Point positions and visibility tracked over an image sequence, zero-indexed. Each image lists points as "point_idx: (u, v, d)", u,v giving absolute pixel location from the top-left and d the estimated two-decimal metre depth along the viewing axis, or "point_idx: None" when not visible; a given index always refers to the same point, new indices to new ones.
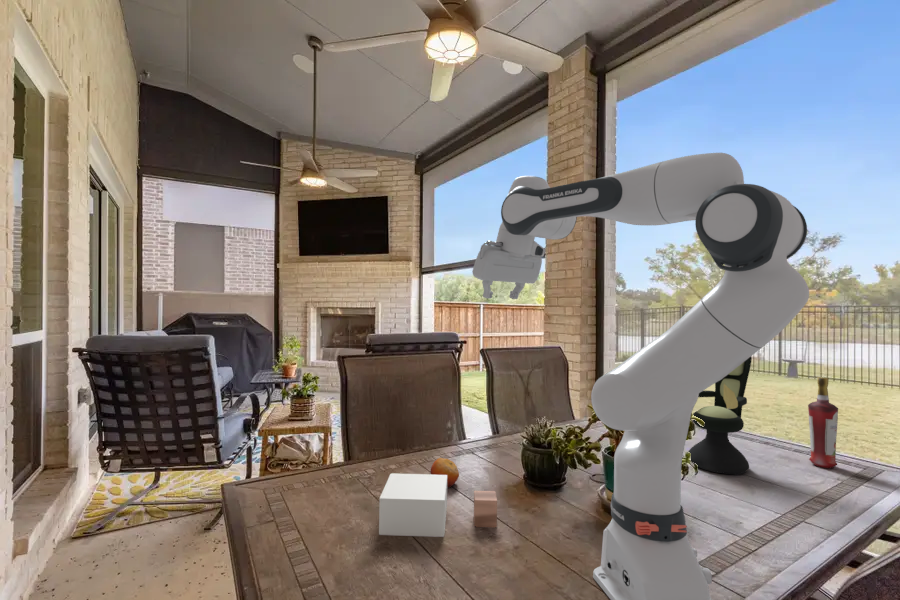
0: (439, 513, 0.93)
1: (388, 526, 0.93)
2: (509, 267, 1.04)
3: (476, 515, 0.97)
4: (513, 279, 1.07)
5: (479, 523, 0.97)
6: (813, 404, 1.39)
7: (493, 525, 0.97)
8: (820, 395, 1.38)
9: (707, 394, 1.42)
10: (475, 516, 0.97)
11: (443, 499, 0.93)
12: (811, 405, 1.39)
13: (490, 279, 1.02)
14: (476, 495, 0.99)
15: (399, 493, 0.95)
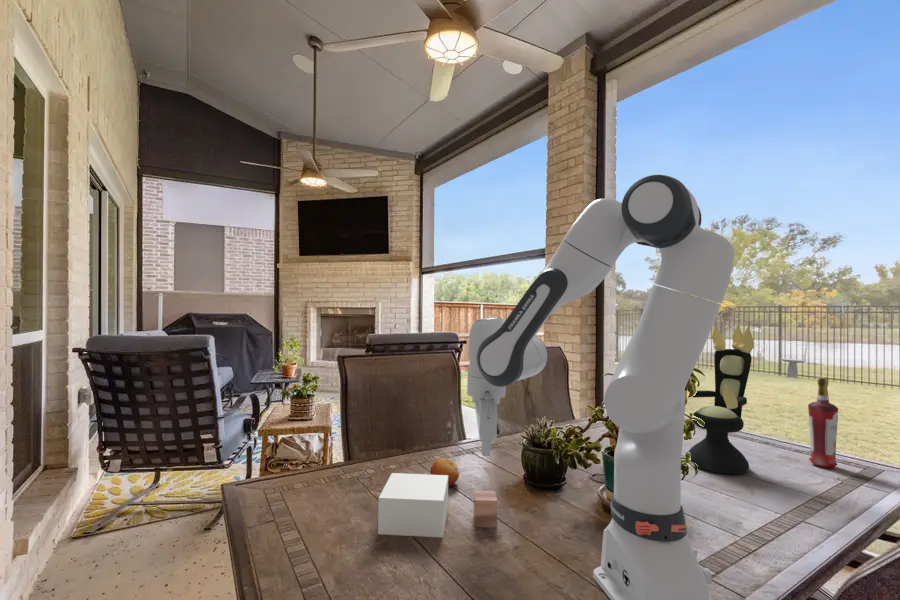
0: (438, 513, 0.92)
1: (387, 525, 0.93)
2: None
3: (476, 515, 0.97)
4: None
5: (479, 523, 0.97)
6: (813, 404, 1.39)
7: (493, 525, 0.97)
8: (820, 395, 1.38)
9: (707, 394, 1.42)
10: (475, 516, 0.97)
11: (442, 499, 0.93)
12: (811, 405, 1.39)
13: None
14: (476, 495, 0.99)
15: (398, 493, 0.96)
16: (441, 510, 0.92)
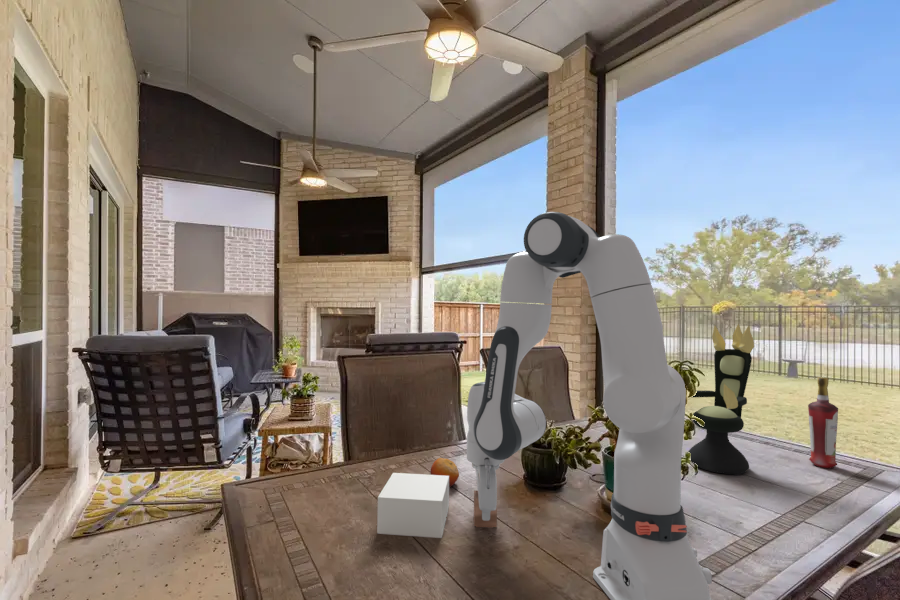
0: (437, 514, 0.92)
1: (386, 525, 0.93)
2: None
3: (476, 515, 0.97)
4: None
5: (479, 523, 0.97)
6: (813, 404, 1.39)
7: (493, 525, 0.97)
8: (820, 395, 1.38)
9: (707, 394, 1.42)
10: (475, 516, 0.97)
11: (441, 500, 0.92)
12: (811, 405, 1.39)
13: None
14: (476, 495, 0.99)
15: (397, 493, 0.96)
16: (440, 510, 0.92)
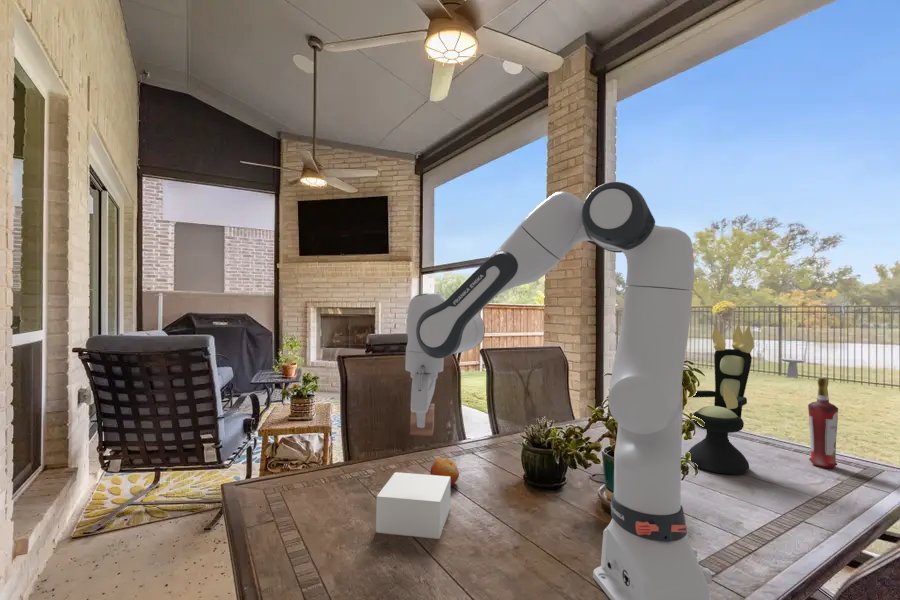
0: (435, 514, 0.92)
1: (385, 524, 0.94)
2: (430, 388, 0.99)
3: (412, 423, 0.98)
4: (431, 398, 1.01)
5: (415, 431, 0.98)
6: (813, 404, 1.39)
7: (429, 433, 0.98)
8: (820, 395, 1.38)
9: (707, 394, 1.42)
10: (411, 424, 0.98)
11: (439, 501, 0.92)
12: (811, 405, 1.39)
13: None
14: None
15: (396, 492, 0.96)
16: (438, 511, 0.92)
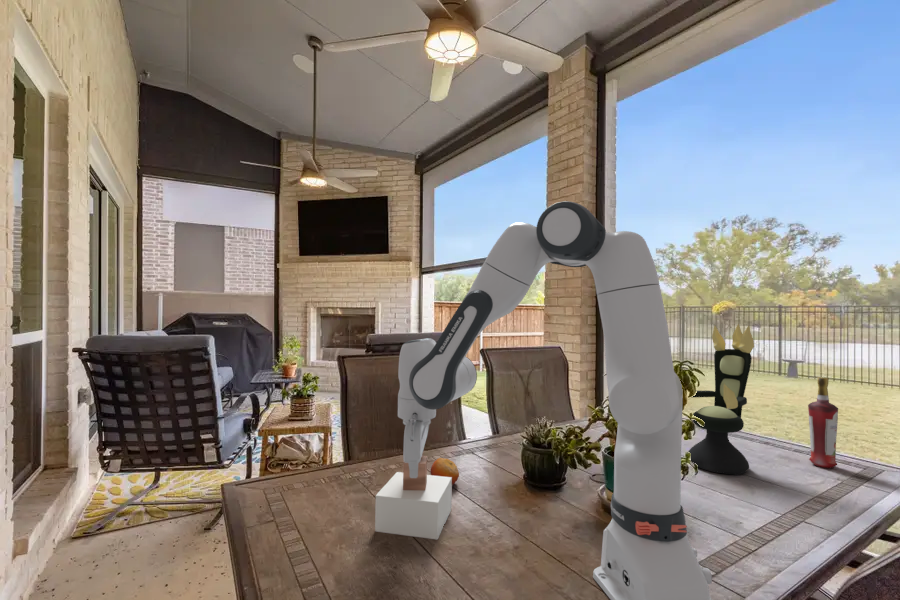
0: (433, 515, 0.92)
1: (384, 523, 0.94)
2: (423, 434, 0.98)
3: (404, 478, 0.97)
4: (424, 444, 1.01)
5: (408, 486, 0.97)
6: (813, 404, 1.39)
7: (422, 488, 0.97)
8: (820, 395, 1.38)
9: (707, 394, 1.42)
10: (404, 479, 0.97)
11: (437, 501, 0.92)
12: (811, 405, 1.39)
13: None
14: None
15: (396, 492, 0.96)
16: (436, 512, 0.92)
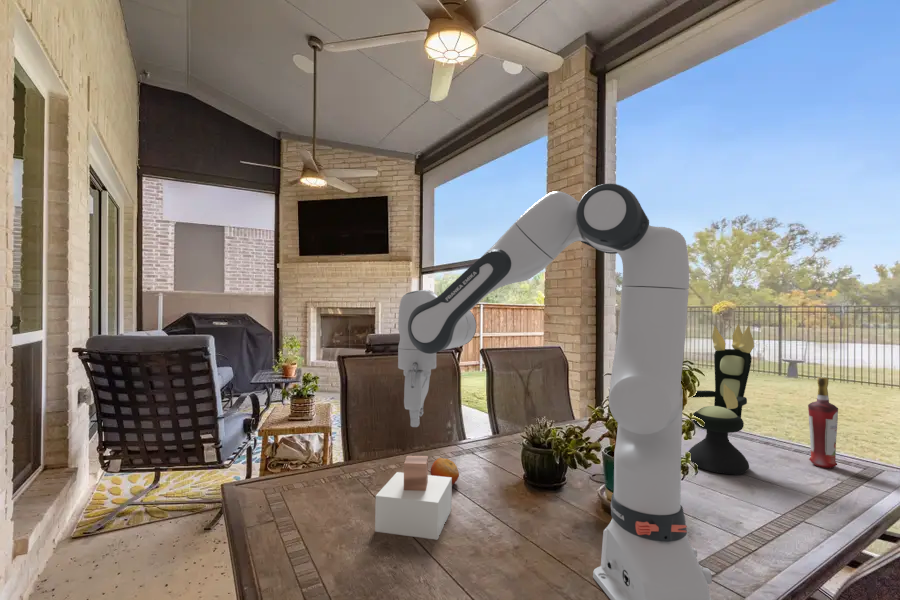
0: (433, 515, 0.92)
1: (384, 523, 0.94)
2: (424, 385, 0.99)
3: (405, 479, 0.97)
4: (425, 396, 1.01)
5: (408, 486, 0.97)
6: (813, 404, 1.39)
7: (422, 488, 0.97)
8: (820, 395, 1.38)
9: (707, 394, 1.42)
10: (404, 479, 0.97)
11: (437, 501, 0.92)
12: (811, 405, 1.39)
13: (422, 405, 0.93)
14: (407, 459, 1.00)
15: (396, 492, 0.96)
16: (436, 512, 0.91)
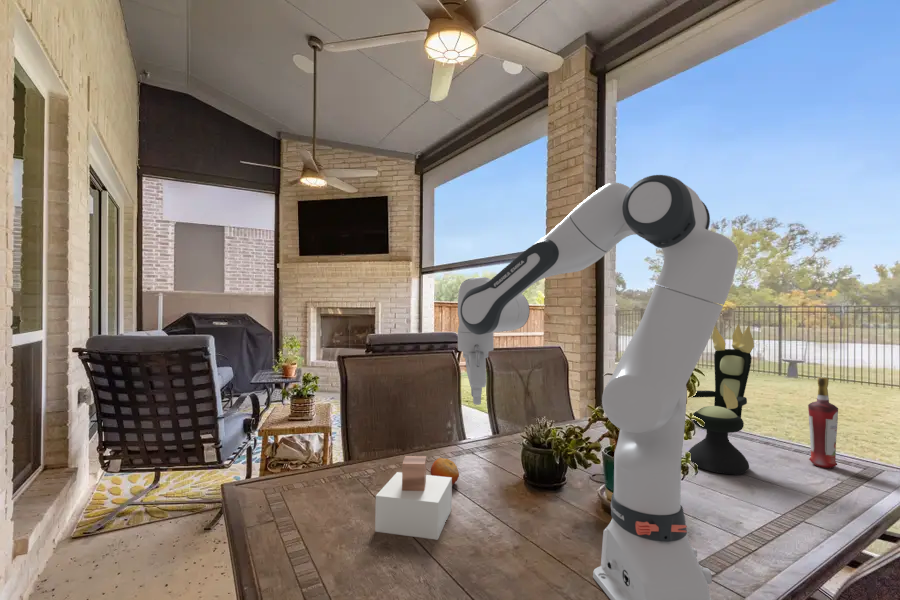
0: (433, 515, 0.92)
1: (384, 523, 0.94)
2: None
3: (403, 479, 0.97)
4: None
5: (407, 486, 0.97)
6: (813, 404, 1.39)
7: (421, 488, 0.97)
8: (820, 395, 1.38)
9: (707, 394, 1.42)
10: (403, 479, 0.97)
11: (437, 501, 0.92)
12: (811, 405, 1.39)
13: None
14: (405, 459, 1.00)
15: (396, 492, 0.96)
16: (436, 512, 0.91)
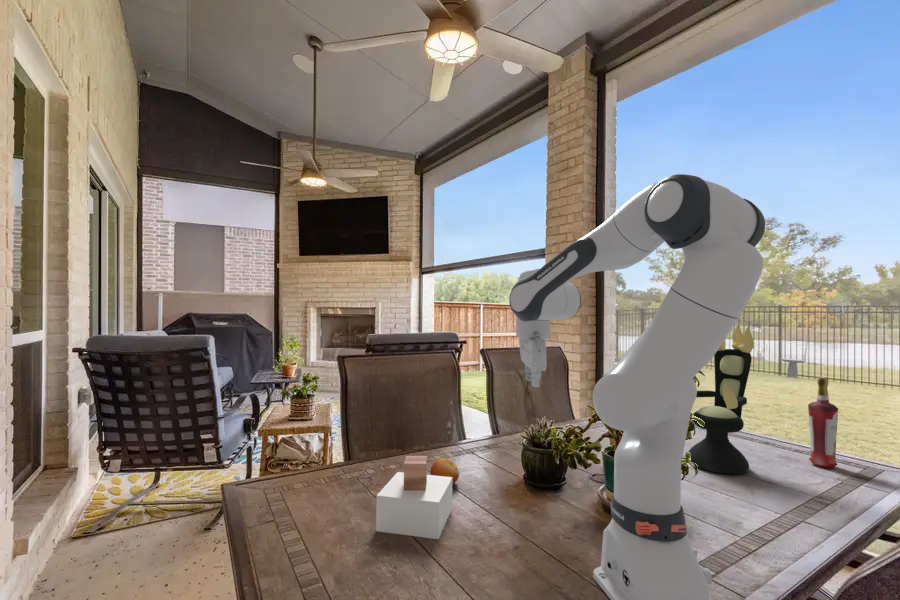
0: (434, 515, 0.92)
1: (385, 523, 0.94)
2: None
3: (405, 479, 0.97)
4: None
5: (408, 486, 0.97)
6: (813, 404, 1.39)
7: (422, 488, 0.97)
8: (820, 395, 1.38)
9: (707, 394, 1.42)
10: (404, 479, 0.97)
11: (438, 501, 0.92)
12: (811, 405, 1.39)
13: None
14: (406, 459, 1.00)
15: (397, 492, 0.96)
16: (437, 512, 0.92)
